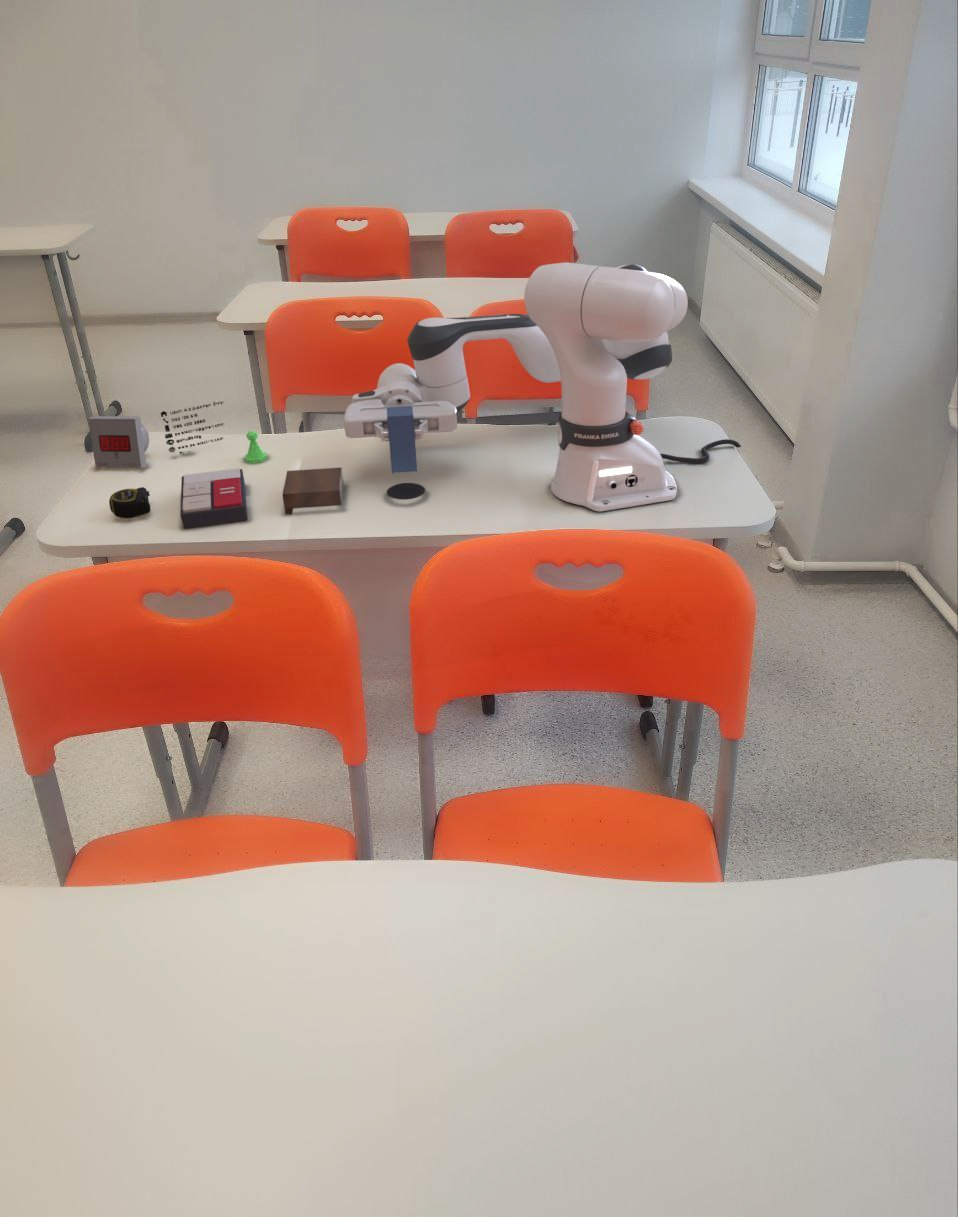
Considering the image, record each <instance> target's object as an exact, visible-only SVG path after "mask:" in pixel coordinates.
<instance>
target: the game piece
mask: <svg viewBox="0 0 958 1217" xmlns="http://www.w3.org/2000/svg"><path fill="white" fill-rule="evenodd" d="M245 436H246V438H247V441H249V446H248V450H247V454H245V462H246V463H249V464H258V463H259V464H260V463H262V462H264V461H267V453H266V452H264V451H263V450H262V448H261V446H260V445H259V443H258V442H257V439H258V438H259V435H258V433H257V432H256V431H254V430H249V431H248V432H247V433H246V435H245Z"/></svg>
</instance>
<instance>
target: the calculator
mask: <svg viewBox="0 0 958 1217" xmlns="http://www.w3.org/2000/svg"><path fill="white" fill-rule="evenodd" d="M180 484H181V488H180V508H179V510H180V513H179V514H180V515H179V516H180V520H181V523H182V527H183V529H185V530H188V529H195V528H196V529H197V528H203V527H212V526H219V525H226V524H234V523H242V522H247V521H248V518H249V517H248V506H247V505H248V504H247V491H246V482H245V477H244V471H243V469H242V468H239V467H238V468H237V467H236V468H230V469H221V470H214V471H213V470H212V471H206V472H196V473H189V474H188V473H187V474H184V475H182V476H181V483H180Z"/></svg>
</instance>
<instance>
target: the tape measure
mask: <svg viewBox="0 0 958 1217" xmlns="http://www.w3.org/2000/svg"><path fill="white" fill-rule="evenodd" d="M150 495H151V494H150V490H147V488H146V487H144V486H141V487H137V488H124V489H120V490H117V491H115V492H113V493H112V494H111V496H110V497H109V500H108V503H109V509H110V511H111V513H112V514H113V515H114V516H115V517H117V518H120V519H133V518H134V519H135V518H137V517H140V516H145V515H148V514H149V513H150V512H151V505H150V500H149V497H150Z"/></svg>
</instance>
